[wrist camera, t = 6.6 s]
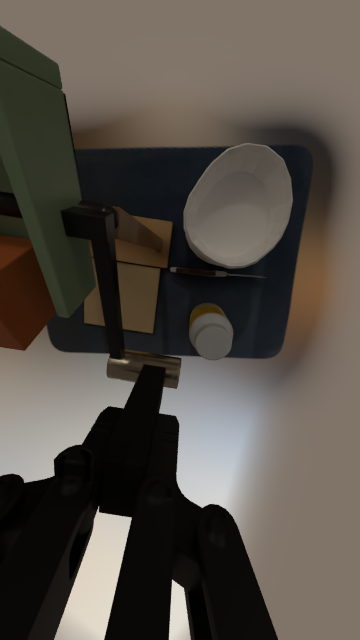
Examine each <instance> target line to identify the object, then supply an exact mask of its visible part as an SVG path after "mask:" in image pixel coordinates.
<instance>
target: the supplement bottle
mask: <svg viewBox="0 0 360 640" xmlns="http://www.w3.org/2000/svg"><path fill="white" fill-rule="evenodd" d="M189 337H190V341H191V343H192V345H193V346H194V348H195V349H196V350H197V352H198V353H199V354H200V355H201V356H202V357H203V358H205V359H208V360H218V359H221V358H223V357H225V356H226V355H227V354H228V353H229V351H230V349H231V346H232V339H233V328H232V326H231V324H230V322H229V320H228V319H227V317H226V315H225V314H224V312H223V310H222V309H221V308H220V307H219V306H217V305H216V304H213V303H202V304H200V305H198V306H196V307H195V308H194V309H193V311H192V312H191V315H190V325H189Z"/></svg>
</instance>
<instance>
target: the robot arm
mask: <svg viewBox="0 0 360 640" xmlns="http://www.w3.org/2000/svg"><path fill="white" fill-rule="evenodd" d="M165 371H166V367H160V366H153V365H147V364H144V365H143V367H142V369H141V371H140V374H139V376H138V378H137V380H136V382H135V385H134V387H133V389H132V392H131V394H130V396H129V398H128V400H127V403H126V405H125V407H124V409H123V408H117V407H111V406H110V407H107V408H106V409H105V410H103V412H101V413H100V415H99V416H98V418H97V420H96V422H95V424H94V425H93V427H92V428H91V431H90V432H89V433H88V435H87V437H86V438H85V440H84V442H83V443H82V445H75V446H72V447H69V448H67V449H65V450H64V451H62V452H61V453H60V454H59V455H58V456H57V457H56V458H55V459H54V472H55V476H53V477H50V478H47V479H44V480H38V481H33V482H27V483H24V480H23V479H22V477H20V476H19V475H15V474H7V475H3V476H0V640H54V638H55V635H56V632H57V629H58V627H59V624H60V621H61V618H62V615H63V613H64V610H65V607H66V604H67V601H68V598H69V596H70V593H71V590H72V587H73V585H74V582H75V579H76V576H77V573H78V570H79V568H80V565H81V562H82V559H83V556H84V554H85V551H86V548H87V545H88V543H89V540H90V537H91V534H92V530H93V524H94V518H95V515H96V512H97V509H98V506H99V512H100V513H107V514H113V515H119V516H126V517H132V520H131V525H130V529H129V533H128V537H127V542H126V546H125V551H124V555H123V560H122V564H121V569H120V573H119V578H118V582H117V586H116V591H115V595H114V600H113V604H112V608H111V613H110V617H109V622H108V626H107V630H106V635H105V639H104V640H169V624H170V623H169V622H170V605H171V587H172V580H174V581H175V582H177V583H178V584H179V585H181V586H182V587H183V588H184V591H185V598H186V606H187V614H188V621H189V629H190V636H191V640H278V638H277V635H276V632H275V630H274V627H273V624H272V621H271V618H270V616H269V613H268V610H267V607H266V605H265V602H264V599H263V596H262V593H261V591H260V588H259V585H258V582H257V580H256V577H255V574H254V571H253V568H252V566H251V563H250V560H249V557H248V555H247V552H246V549H245V546H244V543H243V541H242V538H241V535H240V532H239V529H238V526H237V525H236V523H235V521H234V519H233V517H232V516H231V514H229V512H228V511H227V510H226V509H224V508H223V507H221V506H219V505H215V504H209V505H207V506H205V507H204V508H201V507H200V506H198V505H196V504H194V503H193V502H191V501H190V500H188V499H187V498H186V497H185V496H184V495H183V494H182V493H181V491H180V489H179V487H178V484H177V481H176V472H177V455H178V454H177V453H178V438H179V423H178V420H177V418H176V416H172V415H165V414H160V413H159V409H160V405H161V399H162V392H163V385H164V378H165Z"/></svg>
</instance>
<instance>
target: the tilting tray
mask: <svg viewBox="0 0 360 640" xmlns="http://www.w3.org/2000/svg"><path fill="white" fill-rule="evenodd" d="M60 89H62V83H61V77H60V72H59V66H58V64H57V63H56V62H54V61H53V60H51V59H50V58H48V57H47V56H45V55H44V54H42V53H40V52H39V51H37V50H36V49H34V48H33V47H31V46H30V45H28V44H27V43H25V42H24V41H22V40H21V39H19V38H18V37H16V36H15V35H13V34H12V33H10V32H9V31H7V30H6V29H4V28H3V27H1V26H0V234H1V235H7V236H14V237H20V238H26V239H30V240H31V242H32V245H33V248H34V251H35V254H36V256H37V259H38V262H39V265H40V268H41V271H42V273H43V276H44V279H45V282H46V285H47V287H48V290H49V293H50V296H51V299H52V302H53V304H54V307H55V310H56V313H57V315H58V316H60V317H67V318H69V317H70V316H71V315H72V314H73V313H74V311H75V310H76V309H77V308H78V307H79V306H80V305H81V303H82V302H83V301H84V300H85V299H86V298H87V296H88V295H89V294H90V293H91V292H92V291H93V290H94V288H95V287H96V280H95V275H94V269H93V263H92V257H91V251H90V246H89V240H91V244H92V250H93V256H94V262H95V268H96V274H97V280H98V287H99V293H100V299H101V305H102V311H103V317H104V323H105V329H106V335H107V341H108V347H109V353H110V357H109V360H108V363H107V377H108V378H111V379H117V380H124V381H130V382H136V380H137V378H138V376H139V374H140V371H141V369H142V367H143V365H144V364H147V365H153V366H160V367H166V371H165V378H164V385H163V387H168V388H175V389H176V388H177V386H178V381H179V375H180V367H181V358H176V357H171V356H164V355H158V354H151V353H145V352H139V351H132V350H126V349H125V348H124V337H123V326H122V314H121V303H120V292H119V281H118V270H117V259H116V247H115V229H116V228H117V227H118V225H119V215H118V213H117V211H116V210H115V209H114V208H113V207H112V206H110V205H108V204H103V203H96V202H90V201H83V200H82V199H83V197H82V191H81V185H80V179H79V173H78V167H77V161H76V156H75V150H74V144H73V138H72V132H71V126H70V120H69V114H68V108H67V102H66V96H65V94H64V93H63V91H62V90H60Z"/></svg>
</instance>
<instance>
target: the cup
mask: <svg viewBox="0 0 360 640" xmlns="http://www.w3.org/2000/svg"><path fill="white" fill-rule="evenodd" d="M292 202H293V198H292V185H291V177H290V175H289V172H288V170H287V167H286V165H285V162H284V160H283V158H281V157H280V156H279V155H278V154H277V153H275V152H274V151H273V150H272V149H270V148H269V147H268V146H265V145H257V144H250V143H245V144H241V145H238V146H235V147H232V148H229V149H227V150H226V151H224V152H223V153H222V154H221V155H220V156H219V157H218V158H216V159H215V160H214V161H213V162H212V163H211V164H210V165H209V167H208V168H207V169H206V171H205V172H204V173H203V175H202V176H201V177H200V179H199V180H198V182H197V184H196V185H195V187H194V188H193V190H192V192H191V193H190V195H189V197H188V200H187V203H186V206H185V209H184V230H185V235H186V238H187V241H188V244H189V247H190V248H191V249H192V251H193V252H194V253H195V254H196V255H197V256H198V257H199V258H200V259H202V260H204V261H205V262H207V263H210V264H214V265H218V266H223V267H226V268H228V269H233V268H245V267H247V266H250V265H252V264H254V263H257V262H258V261H259V260H260V259H261V258H263V257H264V256H265V255H266V254H267V253H269V252H270V251H271V250H272V249H273V248H274V247H275V246H276V244H277V243H278V242H279V240H280V239H281V238H282V236H283V233H284V231H285V229H286V227H287V224H288V222H289V217H290V212H291V207H292Z"/></svg>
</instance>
